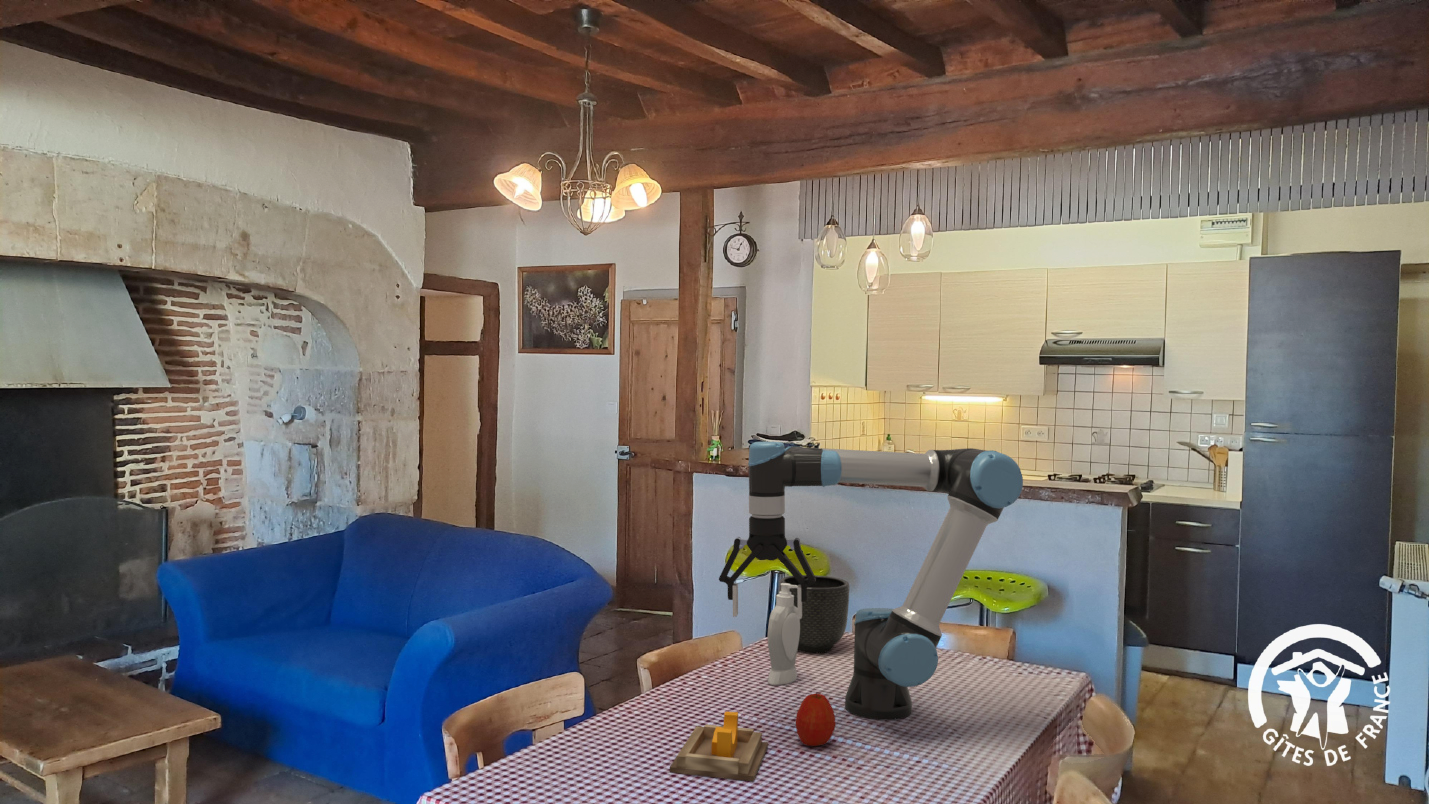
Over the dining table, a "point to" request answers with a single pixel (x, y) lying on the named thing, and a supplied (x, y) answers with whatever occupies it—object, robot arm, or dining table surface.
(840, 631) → the planter
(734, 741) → the orange stepped block
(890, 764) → the dining table surface
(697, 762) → the tray
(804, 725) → the apple
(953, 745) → the dining table surface
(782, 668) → the soap bottle
